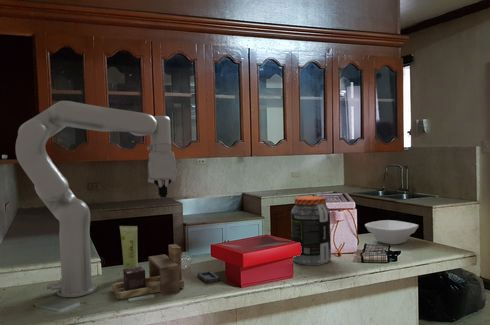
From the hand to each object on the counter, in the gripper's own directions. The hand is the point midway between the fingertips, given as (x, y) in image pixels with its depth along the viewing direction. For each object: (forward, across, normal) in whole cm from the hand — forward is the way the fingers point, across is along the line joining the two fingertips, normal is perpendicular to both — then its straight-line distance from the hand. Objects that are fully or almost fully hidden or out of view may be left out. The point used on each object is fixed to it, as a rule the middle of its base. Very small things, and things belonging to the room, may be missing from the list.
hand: (163, 197), depth 161 cm
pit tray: (+29, +12, -15) cm, 35 cm away
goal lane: (+29, -14, -15) cm, 36 cm away
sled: (+29, -11, -15) cm, 34 cm away
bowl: (+29, +105, -11) cm, 110 cm away
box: (+29, -15, -14) cm, 36 cm away
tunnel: (+29, -5, -15) cm, 33 cm away
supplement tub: (+29, +56, -16) cm, 65 cm away
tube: (+29, -13, +1) cm, 32 cm away
